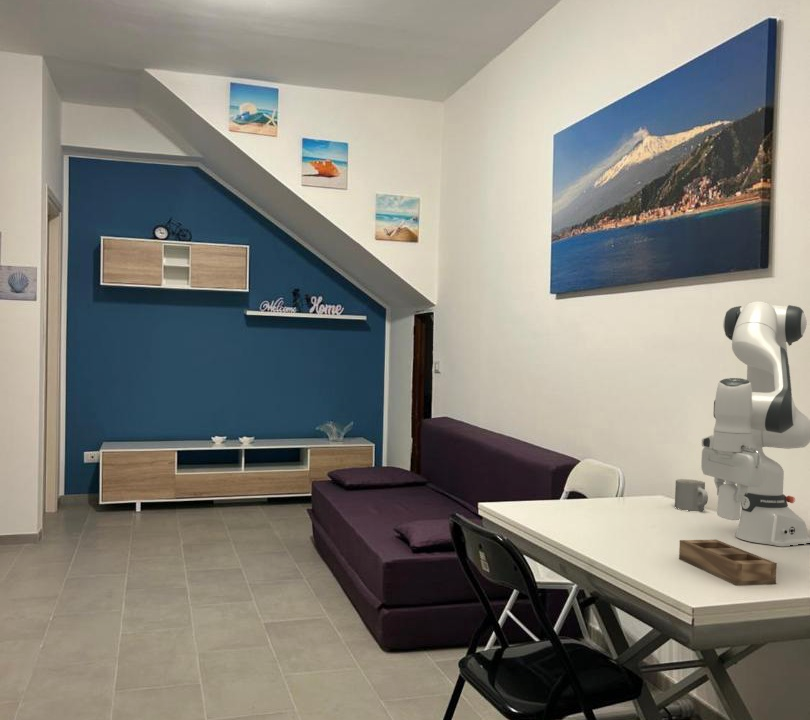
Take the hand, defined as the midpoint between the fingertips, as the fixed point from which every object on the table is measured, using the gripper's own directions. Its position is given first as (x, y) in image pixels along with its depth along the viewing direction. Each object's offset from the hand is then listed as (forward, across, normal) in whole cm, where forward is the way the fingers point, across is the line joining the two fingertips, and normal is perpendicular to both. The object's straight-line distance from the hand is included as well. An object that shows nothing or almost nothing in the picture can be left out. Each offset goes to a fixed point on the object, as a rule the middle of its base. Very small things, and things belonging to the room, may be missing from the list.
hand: (730, 499), depth 196 cm
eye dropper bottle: (+5, 0, 0) cm, 5 cm away
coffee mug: (+20, +79, -40) cm, 91 cm away
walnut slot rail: (+19, +4, -2) cm, 19 cm away
